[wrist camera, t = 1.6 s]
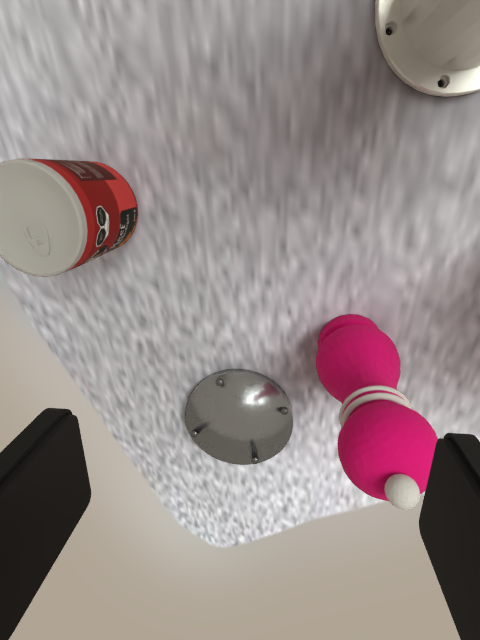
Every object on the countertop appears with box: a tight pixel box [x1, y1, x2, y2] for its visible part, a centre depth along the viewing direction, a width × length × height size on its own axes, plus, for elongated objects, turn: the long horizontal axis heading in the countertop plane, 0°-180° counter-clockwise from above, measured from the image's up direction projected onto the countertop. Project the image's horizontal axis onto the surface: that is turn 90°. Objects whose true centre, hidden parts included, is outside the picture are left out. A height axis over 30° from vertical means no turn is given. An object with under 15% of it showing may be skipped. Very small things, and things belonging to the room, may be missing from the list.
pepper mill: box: [316, 314, 438, 509], centre depth 29 cm, size 7×7×20 cm
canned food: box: [0, 159, 138, 277], centre depth 31 cm, size 8×8×11 cm
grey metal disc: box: [185, 369, 293, 465], centre depth 42 cm, size 12×12×2 cm
